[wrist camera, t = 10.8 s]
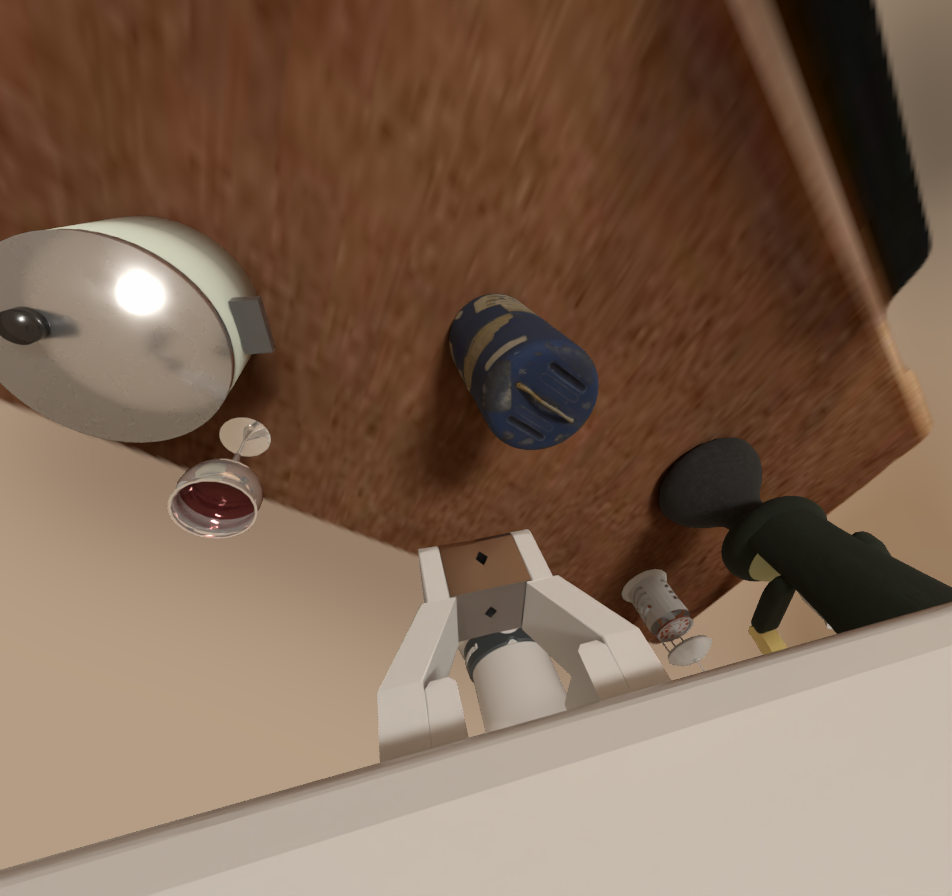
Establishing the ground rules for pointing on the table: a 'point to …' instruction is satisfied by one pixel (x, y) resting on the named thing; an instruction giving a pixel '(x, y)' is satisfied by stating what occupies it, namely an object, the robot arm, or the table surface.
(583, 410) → the canister
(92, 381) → the lid
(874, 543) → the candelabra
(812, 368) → the table surface
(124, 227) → the pot
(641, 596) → the french press
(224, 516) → the wineglass
